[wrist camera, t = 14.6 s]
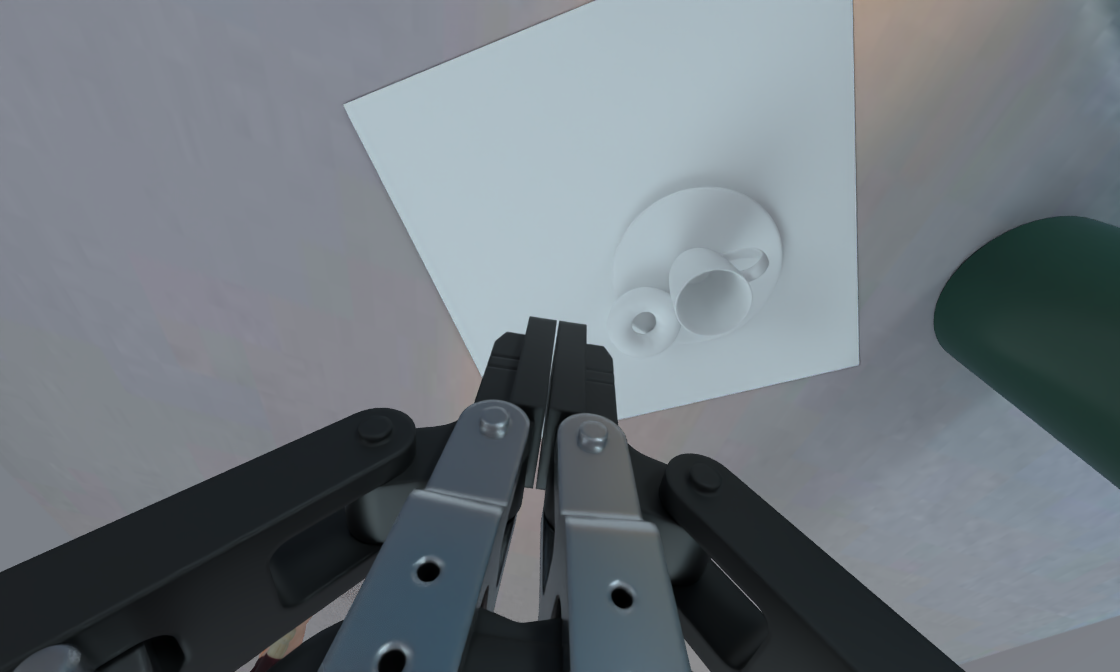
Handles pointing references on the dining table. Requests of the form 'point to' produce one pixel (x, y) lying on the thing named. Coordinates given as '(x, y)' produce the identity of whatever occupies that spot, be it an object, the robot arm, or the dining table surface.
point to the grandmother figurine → (280, 648)
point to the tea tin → (1045, 329)
